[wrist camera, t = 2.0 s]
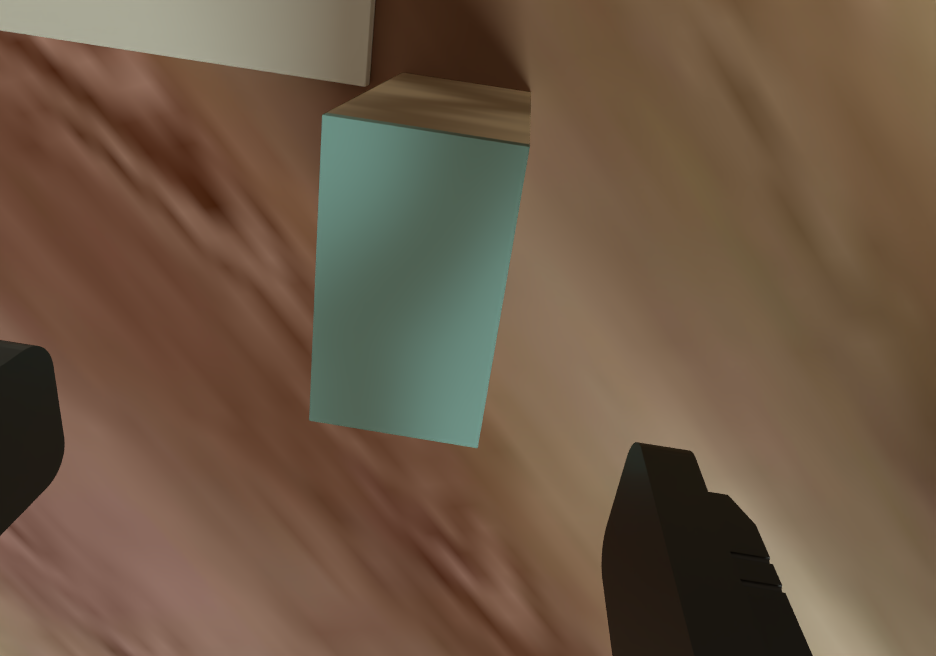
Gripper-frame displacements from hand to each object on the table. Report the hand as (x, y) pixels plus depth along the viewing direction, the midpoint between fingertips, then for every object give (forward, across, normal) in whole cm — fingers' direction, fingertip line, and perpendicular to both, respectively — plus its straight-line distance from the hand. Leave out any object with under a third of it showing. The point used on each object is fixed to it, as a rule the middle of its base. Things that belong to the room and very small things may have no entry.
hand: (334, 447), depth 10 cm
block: (+15, 0, 0) cm, 15 cm away
